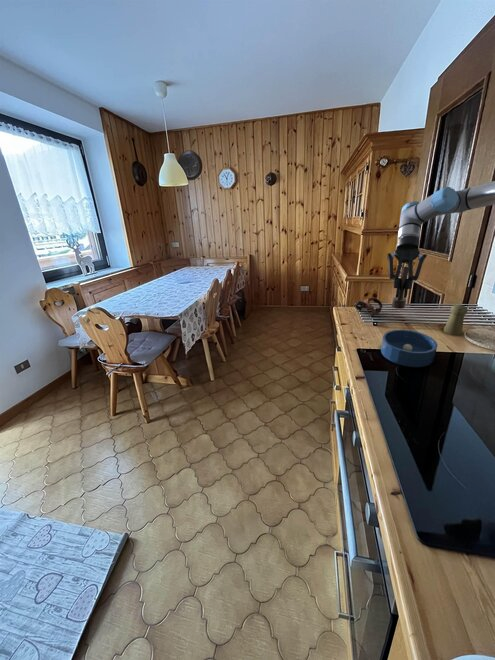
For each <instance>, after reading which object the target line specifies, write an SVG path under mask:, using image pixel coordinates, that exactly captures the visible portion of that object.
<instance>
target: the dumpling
mask: <svg viewBox="0 0 495 660" xmlns="http://www.w3.org/2000/svg"><path fill="white" fill-rule="evenodd" d="M403 350H406V351H412V346H411V345H409V344H405V345H404V346H403Z"/></svg>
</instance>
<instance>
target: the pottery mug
mask: <svg viewBox="0 0 495 660" xmlns="http://www.w3.org/2000/svg"><path fill="white" fill-rule="evenodd" d="M371 301H373V303H376V304H378V307H374V306H373V305H372V304H371ZM354 308H355V309H356V310H357V311H358V312H359V313H361V312H362V311H363V309H365V310H369V311H370V314H369V316H370V317H375V316H376V315H378V314H380V313H381V312H382V308H383V303H382V302H381V300H379V298H376V297H369V298H367V299H364V300H363V301H361V300H357V301H356V302H355V303H354ZM374 308H375V309H374Z"/></svg>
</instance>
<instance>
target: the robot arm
mask: <svg viewBox="0 0 495 660" xmlns="http://www.w3.org/2000/svg"><path fill="white" fill-rule="evenodd" d="M494 205H495V180H492V181H490V182H486V183H485V182H484V183H482V184H479V185H475V186H472V187H471V186H470V187H468V188H463V189H460V190H455V189H454V188H453V187H451V186H444V187H443V188H441V189H439V190H436V191H435V192H433V194H431V195H429V196H427V197H426V198H425V199H423V200H421V201H418V200H417V201H416V200H415V201H413V200H412V201H411V202H407V203H405V204H404V205H403V207H401V212H400V215H399V226H398V231H397V232H398V233H397V241H396V245H395V246H396V248H395V249H394V252H392V253H391V252H388V253H387V255H386V259H387V261H388V278H389V279H390V280H393V286H392V287H393V289H396V290H395V295H394V298H395V297H398V295H399V288H400V280H401V277H400V275H401V274H400V273H401V271H402V267H403V264H405V263H406V264H407V267H409V270H408V275H407V280H406V285H405V290H404V295H403V298H405V299H406V298H407V296H408V293H409V290H411V289H412V286H413V281H414V282H415V281H418V279H419V277H420V273H421V270H422V267H423V264H424V262H425V261H426V259H427V256H428V255H427V254H426V253H424V254H422V253H421V252H420V239H421V231H422V225H423V224H425V223H427V222H429V221H430V220H432V219H434V218H437V217H438V216H444V215H449V214H457V213H458V214H459V213H464V212H466V211H471V210H475V209H479V208H480V209H481V208H485V207H489V206H494ZM394 259H396V260H397V261H398V263H397V267H396V272H395V274H394ZM416 259H417V260H418V264H417V267H416V270H415V273H414V261H415V260H416Z"/></svg>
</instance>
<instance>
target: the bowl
mask: <svg viewBox="0 0 495 660" xmlns="http://www.w3.org/2000/svg"><path fill="white" fill-rule="evenodd" d="M381 339H382V340H381V344H380V353H381V355H382V356H383V357H384V358H385V359H386V360H388V361H390V362H392V363H394V364H395V365H400V366H404V367H409V368H424V367H428V366H430V365H431V364H433V362H434V360H435V356H436V353H437V349H438V345H439V344H438V342H437V341H436V340H435V339H434V338H433V337H431V336H429V335H427V334H426V333H422V332H419V331H415V330H410V329H393V330H389V331H387V332H384V334H383V335H382V338H381ZM405 344H409V345H411V346H412V351H406V350H403V346H404V345H405Z"/></svg>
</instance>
